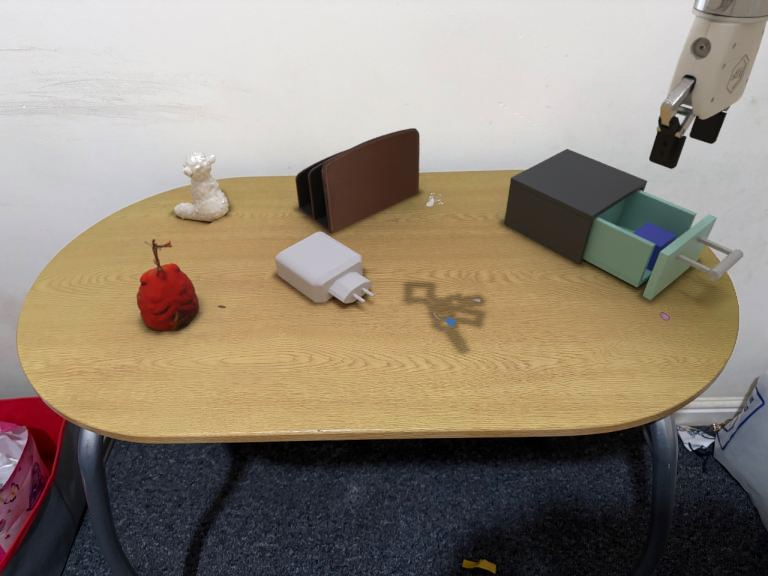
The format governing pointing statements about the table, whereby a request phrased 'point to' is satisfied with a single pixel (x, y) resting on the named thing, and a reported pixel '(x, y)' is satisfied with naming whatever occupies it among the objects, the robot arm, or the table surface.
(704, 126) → the robot arm
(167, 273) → the red lumpy rounded piece
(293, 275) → the charger
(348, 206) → the letter holder
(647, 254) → the mint green drawer
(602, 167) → the housing
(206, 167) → the sitting furry creature
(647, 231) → the cube
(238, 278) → the table surface
